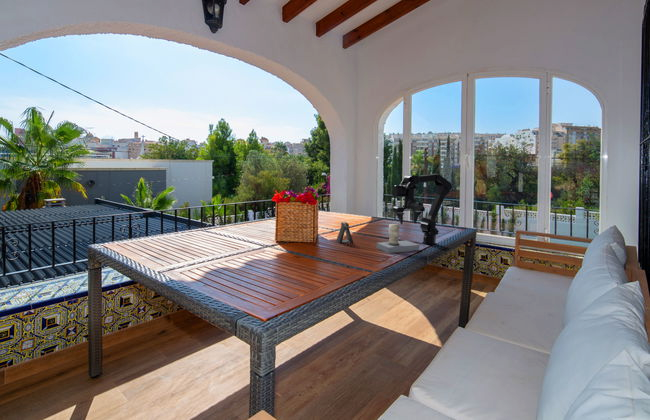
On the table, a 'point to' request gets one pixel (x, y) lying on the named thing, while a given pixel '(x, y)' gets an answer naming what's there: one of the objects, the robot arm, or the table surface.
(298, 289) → the table surface
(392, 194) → the robot arm
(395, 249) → the grey slab with hole
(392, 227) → the ash peg
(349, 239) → the grey a-shaped frame
